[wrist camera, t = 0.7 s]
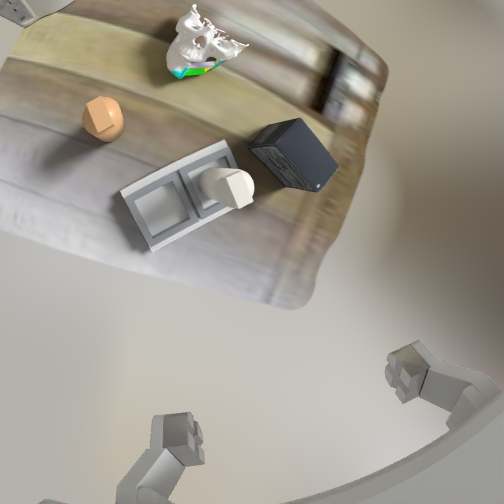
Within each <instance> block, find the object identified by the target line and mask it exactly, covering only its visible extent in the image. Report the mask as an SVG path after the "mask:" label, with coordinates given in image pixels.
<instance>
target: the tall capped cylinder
mask: <svg viewBox="0 0 504 504" xmlns="http://www.w3.org/2000/svg"><path fill="white" fill-rule="evenodd" d="M82 121H83V125H84V127H85V129H86V130H87V131H88V132H89V133H91V134H92V135H94V136H95V137H97V138H99V139H100V140H102V141H104V142H112V141H115V140H116V139H118V138H119V137H120V136H121V135H122V133H123V131H124V127H125V124H124V120H123V117H122V114H121V110H120V107H119V105H118V104H117V102H116V101H115V100H113V99H111V98H108V97H102V96H100V97H98V98H96V99H94V100H92V101H91V102H89V103H87V107H86V108H85V110H84V113H83V118H82Z"/></svg>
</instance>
